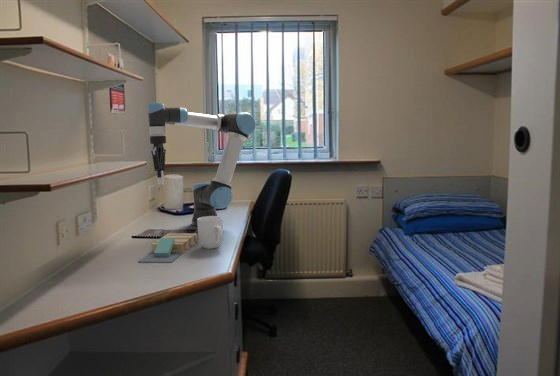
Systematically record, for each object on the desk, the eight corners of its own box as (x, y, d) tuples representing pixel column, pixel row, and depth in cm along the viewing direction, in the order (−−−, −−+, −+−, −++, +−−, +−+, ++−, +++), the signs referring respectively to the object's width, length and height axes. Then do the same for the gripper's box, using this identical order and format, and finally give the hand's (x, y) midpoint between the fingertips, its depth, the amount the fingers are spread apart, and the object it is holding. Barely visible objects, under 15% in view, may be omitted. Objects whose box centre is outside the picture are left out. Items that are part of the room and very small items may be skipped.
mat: (151, 253, 197) (151, 252, 197) (183, 253, 195) (183, 252, 195) (138, 262, 183) (137, 261, 183) (171, 262, 181) (171, 261, 181)
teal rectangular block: (161, 241, 197) (160, 237, 196) (174, 241, 196) (173, 237, 195) (155, 256, 190) (153, 252, 189) (169, 256, 189) (167, 252, 188)
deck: (168, 241, 216) (167, 233, 216) (197, 241, 215) (196, 233, 214) (151, 253, 197) (151, 244, 196) (183, 253, 195) (182, 244, 194)
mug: (233, 248, 201) (232, 219, 199) (212, 253, 194) (210, 222, 192) (214, 242, 212) (213, 214, 211) (193, 247, 205) (192, 218, 203)
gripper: (155, 135, 228) (158, 182, 230) (144, 135, 215) (148, 185, 218) (170, 135, 227) (172, 182, 230) (160, 135, 214) (163, 185, 217)
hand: (160, 184), depth 224 cm, fingers closed
